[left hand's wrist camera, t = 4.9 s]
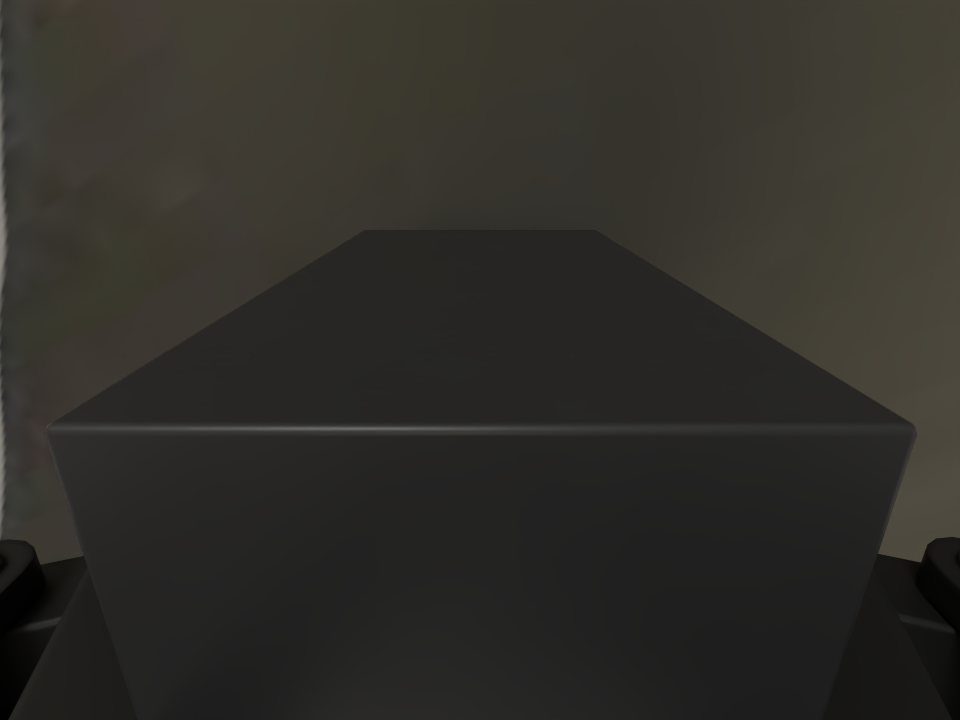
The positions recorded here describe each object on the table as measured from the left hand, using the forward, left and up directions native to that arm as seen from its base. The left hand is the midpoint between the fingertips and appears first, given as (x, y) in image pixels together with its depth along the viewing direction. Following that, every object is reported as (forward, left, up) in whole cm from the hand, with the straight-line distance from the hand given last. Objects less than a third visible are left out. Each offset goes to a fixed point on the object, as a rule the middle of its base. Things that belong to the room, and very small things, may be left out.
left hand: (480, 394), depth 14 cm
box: (+5, +9, -1) cm, 10 cm away
